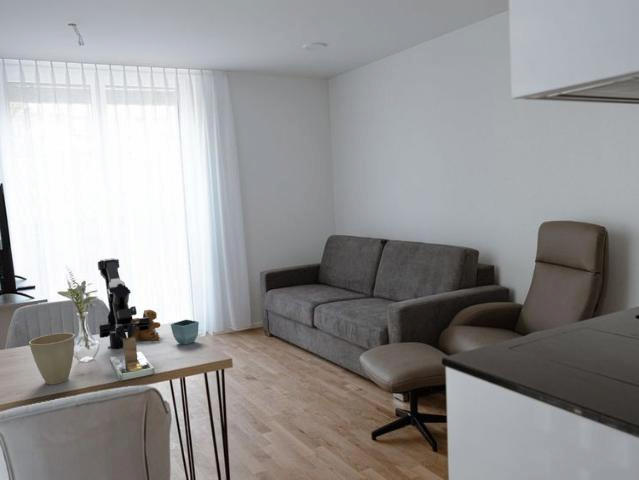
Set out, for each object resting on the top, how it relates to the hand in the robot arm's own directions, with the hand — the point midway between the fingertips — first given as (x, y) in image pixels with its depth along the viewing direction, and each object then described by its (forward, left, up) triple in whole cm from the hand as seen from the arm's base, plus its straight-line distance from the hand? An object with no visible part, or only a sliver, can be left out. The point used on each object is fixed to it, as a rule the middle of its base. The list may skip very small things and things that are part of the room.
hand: (128, 345), depth 212 cm
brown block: (+4, -3, -8) cm, 9 cm away
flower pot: (-2, +33, -9) cm, 35 cm away
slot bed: (-2, +2, -9) cm, 9 cm away
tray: (+9, -6, -9) cm, 14 cm away
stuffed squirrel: (-25, +32, -9) cm, 42 cm away
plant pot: (-17, -20, -9) cm, 27 cm away
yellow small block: (+9, -6, -8) cm, 14 cm away
